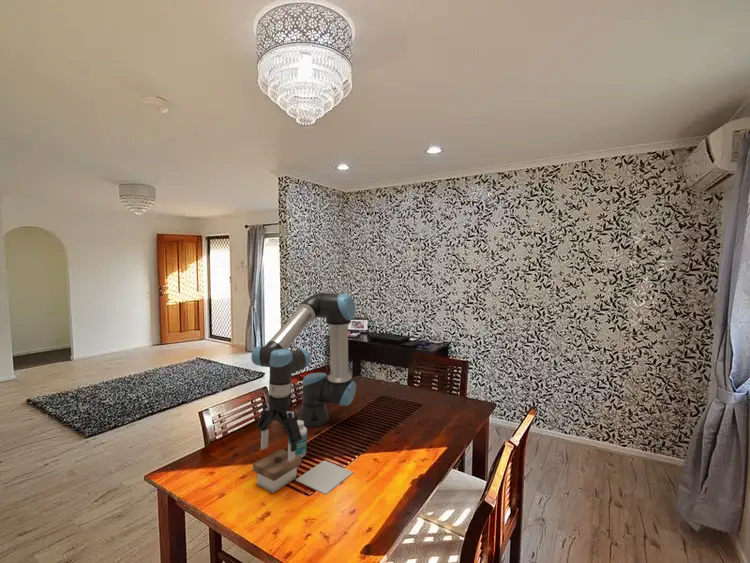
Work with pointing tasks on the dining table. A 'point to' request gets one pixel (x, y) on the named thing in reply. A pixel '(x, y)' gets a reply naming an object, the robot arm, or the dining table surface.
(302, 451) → the pill bottle
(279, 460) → the cover
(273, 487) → the dish
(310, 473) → the mat
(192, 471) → the dining table surface
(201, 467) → the dining table surface
